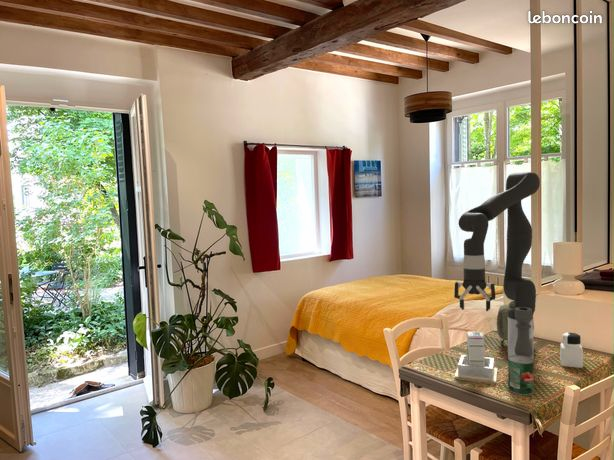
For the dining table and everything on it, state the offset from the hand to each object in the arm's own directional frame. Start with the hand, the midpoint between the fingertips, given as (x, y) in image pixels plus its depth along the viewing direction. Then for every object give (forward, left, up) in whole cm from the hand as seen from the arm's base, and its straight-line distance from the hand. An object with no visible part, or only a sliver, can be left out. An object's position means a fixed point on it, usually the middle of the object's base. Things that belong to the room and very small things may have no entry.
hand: (474, 310), depth 171 cm
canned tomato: (-15, +11, -25) cm, 31 cm away
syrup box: (0, +1, -23) cm, 23 cm away
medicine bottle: (-33, -22, -25) cm, 47 cm away
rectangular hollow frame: (0, +1, -24) cm, 24 cm away
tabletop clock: (-13, -37, -25) cm, 46 cm away
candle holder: (-16, -3, -24) cm, 30 cm away
